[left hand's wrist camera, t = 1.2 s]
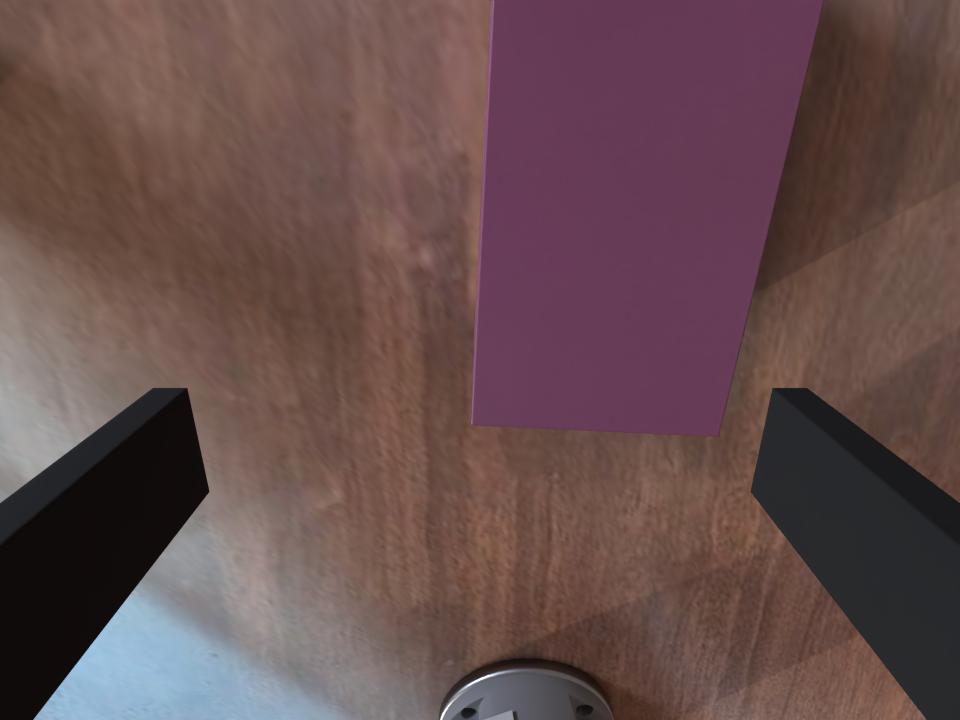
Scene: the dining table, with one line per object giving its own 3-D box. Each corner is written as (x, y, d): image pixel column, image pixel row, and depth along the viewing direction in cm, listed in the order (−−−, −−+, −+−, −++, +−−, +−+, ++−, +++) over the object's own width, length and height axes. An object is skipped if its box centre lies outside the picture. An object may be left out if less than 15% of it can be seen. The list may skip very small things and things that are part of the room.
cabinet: (491, -9, 28) (496, -91, 18) (713, 4, 29) (842, -70, 18) (473, 343, 36) (470, 426, 25) (651, 352, 36) (719, 437, 26)
